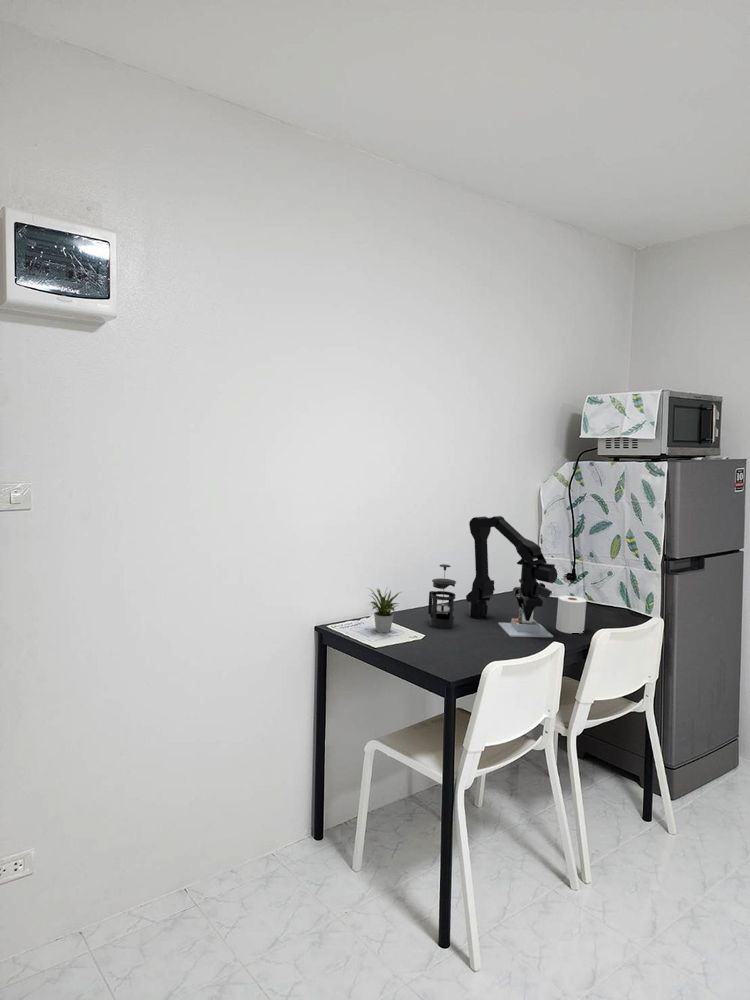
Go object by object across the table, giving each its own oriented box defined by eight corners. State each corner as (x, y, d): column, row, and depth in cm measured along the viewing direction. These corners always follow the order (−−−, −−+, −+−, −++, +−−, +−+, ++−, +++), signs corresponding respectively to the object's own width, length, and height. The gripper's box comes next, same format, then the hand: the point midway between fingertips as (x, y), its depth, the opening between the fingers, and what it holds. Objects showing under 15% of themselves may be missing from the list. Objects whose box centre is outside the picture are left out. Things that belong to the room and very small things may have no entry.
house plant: (353, 632, 251) (355, 587, 249) (368, 622, 264) (370, 579, 262) (391, 638, 246) (393, 592, 244) (404, 628, 258) (406, 584, 257)
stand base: (509, 636, 255) (510, 625, 255) (498, 623, 271) (499, 613, 270) (553, 637, 256) (553, 626, 256) (539, 624, 272) (539, 614, 272)
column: (519, 629, 261) (521, 609, 261) (516, 626, 265) (518, 607, 265) (532, 630, 262) (533, 610, 261) (528, 626, 266) (530, 607, 265)
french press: (460, 626, 265) (464, 566, 262) (443, 630, 258) (447, 568, 256) (437, 619, 273) (440, 560, 271) (420, 623, 267) (423, 563, 264)
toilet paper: (585, 635, 261) (588, 603, 260) (556, 632, 263) (559, 600, 262) (582, 627, 271) (585, 596, 270) (554, 625, 273) (557, 594, 272)
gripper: (558, 584, 253) (555, 626, 255) (541, 573, 272) (539, 612, 273) (528, 583, 252) (525, 626, 254) (513, 572, 270) (510, 612, 272)
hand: (525, 619), depth 263 cm, fingers closed on column, 4 cm apart
